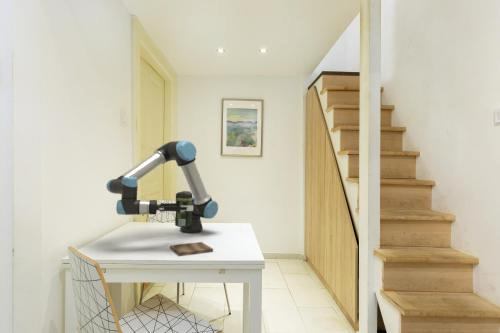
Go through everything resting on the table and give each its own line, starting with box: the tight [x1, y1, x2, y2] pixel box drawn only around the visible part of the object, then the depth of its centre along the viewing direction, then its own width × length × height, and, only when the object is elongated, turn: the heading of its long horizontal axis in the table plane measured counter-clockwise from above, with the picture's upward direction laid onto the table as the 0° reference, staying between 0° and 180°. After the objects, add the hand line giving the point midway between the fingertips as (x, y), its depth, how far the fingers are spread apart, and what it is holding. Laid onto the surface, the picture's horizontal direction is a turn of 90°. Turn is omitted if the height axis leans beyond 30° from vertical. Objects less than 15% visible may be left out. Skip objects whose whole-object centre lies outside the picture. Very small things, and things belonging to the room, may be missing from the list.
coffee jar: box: [174, 190, 193, 228], centre depth 163 cm, size 10×8×19 cm
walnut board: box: [169, 241, 214, 257], centre depth 159 cm, size 18×16×2 cm
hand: (192, 207), depth 164 cm, fingers closed on coffee jar, 9 cm apart
